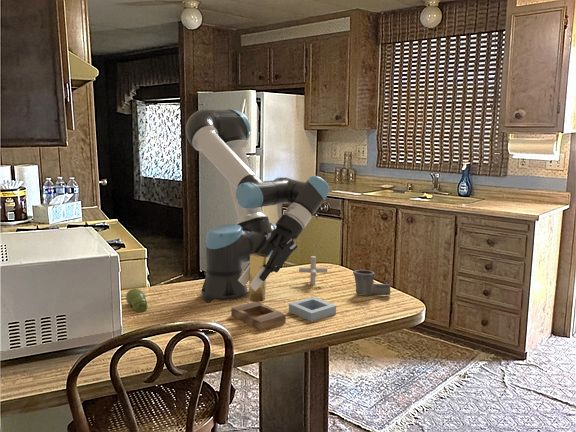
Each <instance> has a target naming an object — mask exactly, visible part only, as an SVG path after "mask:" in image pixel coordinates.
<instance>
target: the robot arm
mask: <svg viewBox="0 0 576 432" xmlns="http://www.w3.org/2000/svg"><path fill="white" fill-rule="evenodd" d="M250 132H251V125H250V120H249V119H248V117H247V115H245V113H243V112H242V111H241V110H238V109H237V110H234V109H229V108H228V109H204V108H203V109H199V110H197V111H195V112H194V113H192V114H191V115H190V116H189V118H188V120H187V122H186V123H185V136H186V138H187V140H188V142H189V144H190V146H192V148H193V149H194V150H196V151H198V152H200V153H202V154H203V155H204V156H205V157H206V158H207V159H208V160H209V161H210V162H211V164H212V165H213V166H214V167H215V168H216V169H217V171H219V173H220V174H221V175H222V176H223V177H224V178H225V179H226V180H227V182H228V187H229V190H230V194H231V197H232V201H233V204H234V208H235V212H236V216H237V222H236V223H228V224H221V225H220V224H219V225H216V226H214V227H211V228H210V229H208V230H207V233H206V235H205V236H206V237H205V243H204V244H205V253H206V254H205V259H206V261H205V262H206V265H205V266H206V267H205V268H206V269H205V270H206V274H205V278H204V281H203V285H202V287H201V291H200V293H201V294H200V295H201V299H202V300H203V301H204V302H207V303H212V302H213V301H215V300H216V301H217V300H218V301H230V300H231V301H232V300H236V299H240V298H242V297H245V296H247V294H248V288H247V284H248V283H249V277H250V255H251V254H254V253H262V254H265V255H266V259H267V258H268V260H267V261H266V265H264V267H265V268H264V267H262V268H261V269H260V271H259V272H258V273H257V275H256V276H255V278H254V279H253V280H252V282H251V283H250V285H248V287H249V286H250V287H251V288H252V289H253V290H254V291H256V290H257V289H258V288H259V286H260V285H261V283H262V282H263V281H265V280H266V281H267V279H268V277H269V276H270V274H271V273H274V272H275V273H276V274H277V273H278V272H279V271H280V269H281V268H282V267H283V266H284V264H285V263H286V261H287V260H288V259H289V257H290V256H291V255H292V253H293V252H294V251H295V250H296V249H297V248H298V245H297V244H296V242H295V241H294V240H297V239H298V237H300V235H301V233H302V232H303V230H304V228H306V226H307V225H308V224H309V222H310V221H311V219H312V217H314V215H315V214H316V212H317V211H318V210H319V208H320V207H321V205H322V204H323V202H325V200H326V198H327V197H328V195H329V194H330V192H331V188H330V186H329V184H328V182H327V181H326V180H325V179H323V178H322V177H320V176H317V175H311V176H310V177H309V178H307V180H306V181H299V180H296V179H293V178H290V177H283V176H281V177H275V179H273V180H262V179H261V178H259V177H258V175H256V173H255V172H254V171H253V170H252V169H251V167H250V164H249V160H248V159H249V158H248V155H247V151H246V147H247V146H248V140H249V139H250V136H251V133H250ZM284 204H289V205H288V207H287V208H286V210H285V211H283V212H284V213H283V214H282V215H281V216H280V218H279V219H278V220H277V222H276V223H273V222H270V220H269V216H268V215H266V214H265V213H263V211H262V207H270V206H277V205H284ZM247 262H249V263H248V264H247V266H245V269H244V271H243V263H247Z"/></svg>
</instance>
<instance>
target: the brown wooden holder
mask: <svg viewBox="0 0 576 432" xmlns="http://www.w3.org/2000/svg"><path fill="white" fill-rule="evenodd" d="M230 311H231V312H230V313H231V314H230V315H231V317H233V318H234V319H237V321H241V322H242V323H244V324H247V325H248V326H250V327H252V328H254V329H256V330H258V331H260V332H261V331H264V330H265V331H266V330H268V329H272V328H274V327H277V326H280V325H283V324H286V322H287V320H286V319H287V318H286V317H287V315H286V314H285V313H284V312H281V311H279V310H277V309H274V308H272V307H270V306H269V305H266V304H264V303H261V302H253V301H250V302H248V303H244V304H240V305H236V306H233V307H232V306H231V309H230Z"/></svg>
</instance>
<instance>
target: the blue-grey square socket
mask: <svg viewBox="0 0 576 432" xmlns="http://www.w3.org/2000/svg"><path fill="white" fill-rule="evenodd" d="M288 313H290V314H292V315H296V316H298V317H300V318H301V319H305V320H307V321H309V322H314V321H315V322H316V321H318V320H321V319H324V318H327V317H330V316H334V315H336V314H337V305H335V304H333V303H331V302H327V301H325V300H322V299H320V298H318V297H315V296H311V297H308V298H307V297H306V298H305V299H302V300H301V299H300V300H297V301H294V302H290V303H288Z"/></svg>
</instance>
